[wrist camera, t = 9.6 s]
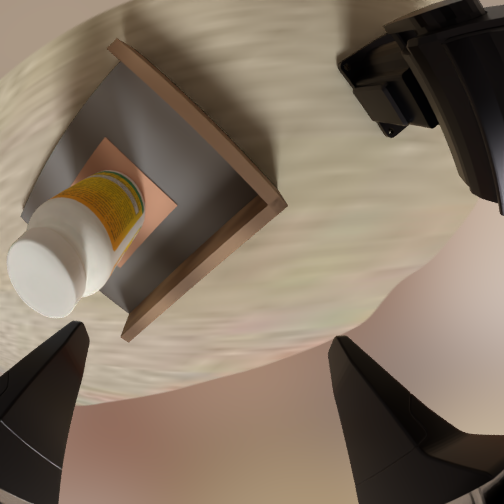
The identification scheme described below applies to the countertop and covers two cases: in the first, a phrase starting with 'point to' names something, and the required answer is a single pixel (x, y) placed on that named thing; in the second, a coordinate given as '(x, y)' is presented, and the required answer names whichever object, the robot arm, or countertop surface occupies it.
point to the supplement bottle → (75, 242)
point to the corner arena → (161, 184)
